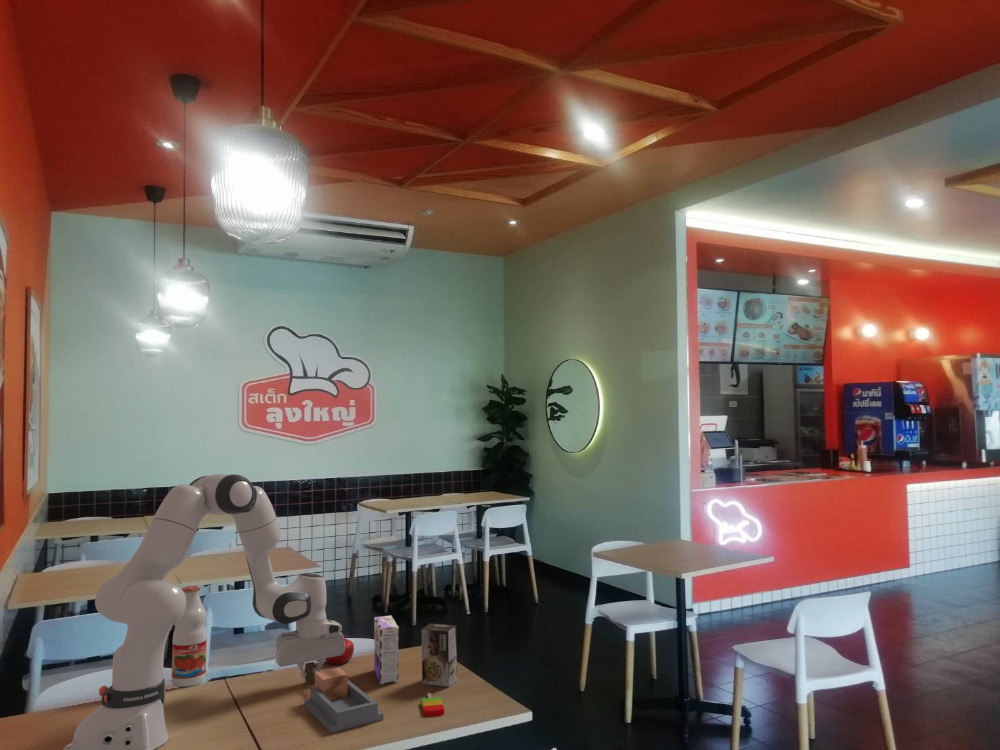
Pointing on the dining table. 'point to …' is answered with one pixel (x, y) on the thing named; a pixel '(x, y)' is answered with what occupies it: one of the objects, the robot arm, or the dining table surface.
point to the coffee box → (439, 655)
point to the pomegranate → (346, 655)
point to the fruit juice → (190, 642)
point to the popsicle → (432, 706)
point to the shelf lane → (343, 709)
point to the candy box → (386, 649)
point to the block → (328, 681)
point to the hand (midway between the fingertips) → (310, 675)
